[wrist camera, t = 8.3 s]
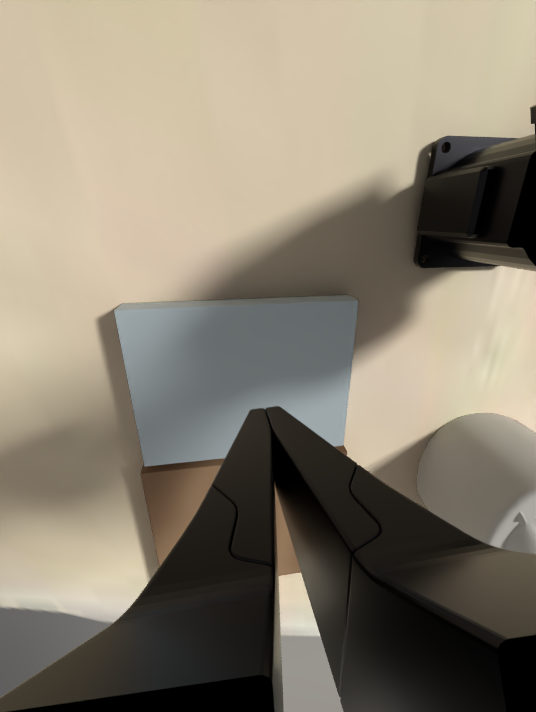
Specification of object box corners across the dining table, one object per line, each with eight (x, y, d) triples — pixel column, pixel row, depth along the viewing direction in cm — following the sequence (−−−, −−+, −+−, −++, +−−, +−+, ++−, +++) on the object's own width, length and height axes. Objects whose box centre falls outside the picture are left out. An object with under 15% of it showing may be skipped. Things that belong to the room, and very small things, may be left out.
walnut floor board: (338, 437, 23) (347, 451, 22) (327, 549, 28) (333, 567, 27) (145, 456, 22) (140, 473, 20) (168, 573, 26) (165, 593, 25)
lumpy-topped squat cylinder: (452, 538, 31) (535, 649, 23) (389, 462, 25) (467, 571, 18) (549, 476, 29) (674, 571, 21) (504, 382, 24) (645, 462, 16)
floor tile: (348, 294, 19) (358, 300, 18) (335, 432, 23) (343, 445, 22) (121, 303, 18) (113, 310, 16) (148, 450, 21) (144, 466, 20)
